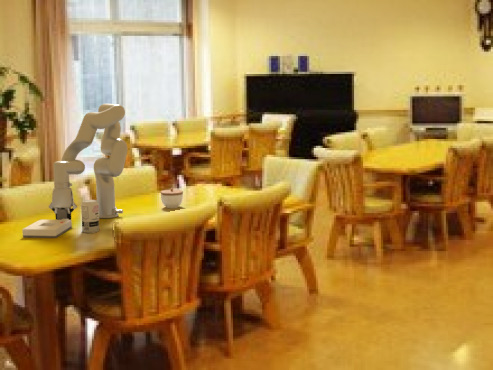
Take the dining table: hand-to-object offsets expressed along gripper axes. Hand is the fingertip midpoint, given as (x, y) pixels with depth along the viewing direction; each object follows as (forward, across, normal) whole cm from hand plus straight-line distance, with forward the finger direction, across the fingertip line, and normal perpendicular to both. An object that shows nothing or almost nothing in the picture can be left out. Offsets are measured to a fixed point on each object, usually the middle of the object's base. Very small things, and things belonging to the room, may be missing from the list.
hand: (63, 220), depth 368 cm
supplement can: (+2, -19, +15) cm, 24 cm away
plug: (+2, 0, 0) cm, 2 cm away
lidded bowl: (+2, -46, -49) cm, 67 cm away
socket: (+2, +1, +19) cm, 19 cm away
